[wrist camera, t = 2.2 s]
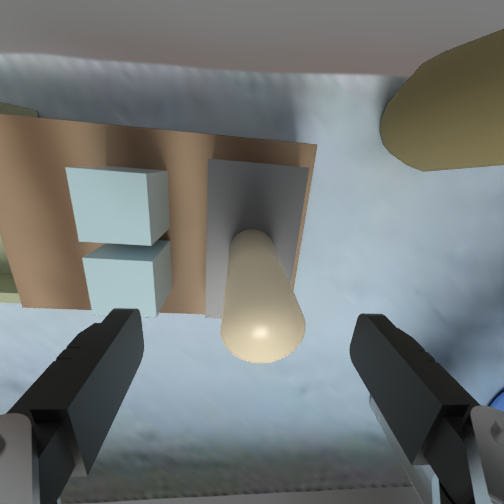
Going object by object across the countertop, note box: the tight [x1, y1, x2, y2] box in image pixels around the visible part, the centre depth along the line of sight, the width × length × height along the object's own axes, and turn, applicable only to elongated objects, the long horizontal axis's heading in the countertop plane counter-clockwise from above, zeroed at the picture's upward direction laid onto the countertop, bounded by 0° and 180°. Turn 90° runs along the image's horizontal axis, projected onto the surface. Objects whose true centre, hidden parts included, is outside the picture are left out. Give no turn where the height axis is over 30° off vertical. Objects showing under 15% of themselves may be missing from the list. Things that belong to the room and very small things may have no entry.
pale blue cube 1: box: [65, 166, 170, 246], centre depth 15 cm, size 4×4×4 cm
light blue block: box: [82, 240, 172, 317], centre depth 17 cm, size 4×4×4 cm
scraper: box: [205, 159, 309, 363], centre depth 13 cm, size 6×11×10 cm, turn 175°
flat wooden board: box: [0, 114, 317, 314], centre depth 20 cm, size 22×14×6 cm, turn 85°
